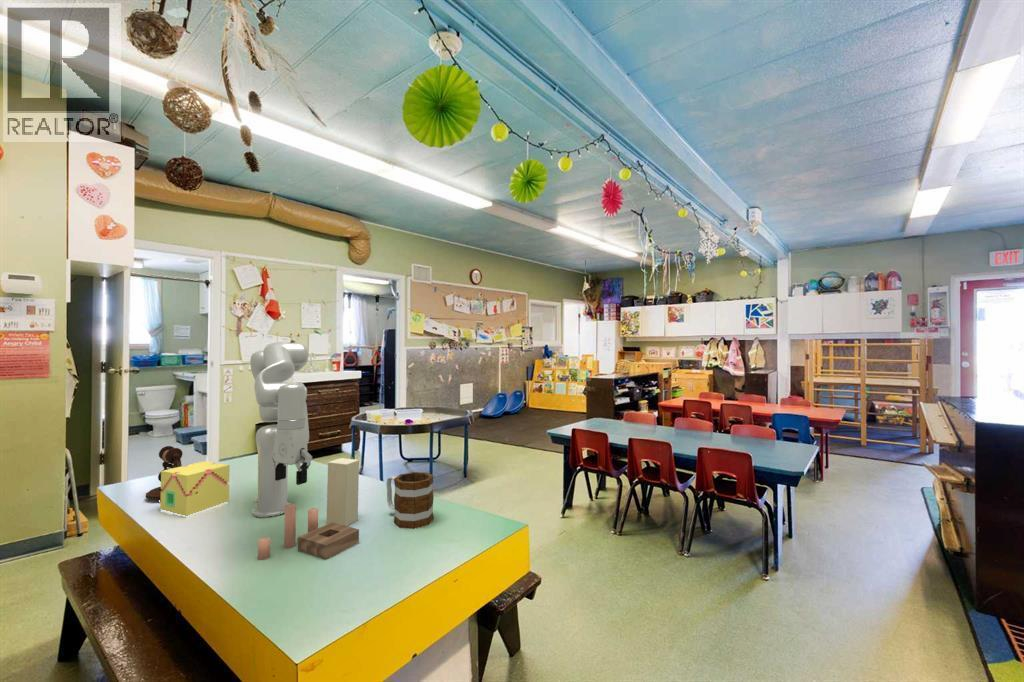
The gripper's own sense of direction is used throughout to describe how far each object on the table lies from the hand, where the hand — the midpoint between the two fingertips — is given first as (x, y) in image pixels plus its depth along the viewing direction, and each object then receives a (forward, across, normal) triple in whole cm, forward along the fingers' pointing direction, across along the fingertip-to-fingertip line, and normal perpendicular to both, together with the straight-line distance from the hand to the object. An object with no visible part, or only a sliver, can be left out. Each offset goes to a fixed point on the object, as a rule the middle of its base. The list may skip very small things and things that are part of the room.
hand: (290, 481), depth 128 cm
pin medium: (+19, 0, +8) cm, 21 cm away
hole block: (+19, +11, +5) cm, 23 cm away
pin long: (+19, 0, 0) cm, 19 cm away
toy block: (+19, -60, +4) cm, 63 cm away
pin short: (+19, 0, -8) cm, 21 cm away
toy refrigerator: (+19, 0, +20) cm, 28 cm away
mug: (+20, +18, +32) cm, 42 cm away
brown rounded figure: (+19, -83, +6) cm, 86 cm away
